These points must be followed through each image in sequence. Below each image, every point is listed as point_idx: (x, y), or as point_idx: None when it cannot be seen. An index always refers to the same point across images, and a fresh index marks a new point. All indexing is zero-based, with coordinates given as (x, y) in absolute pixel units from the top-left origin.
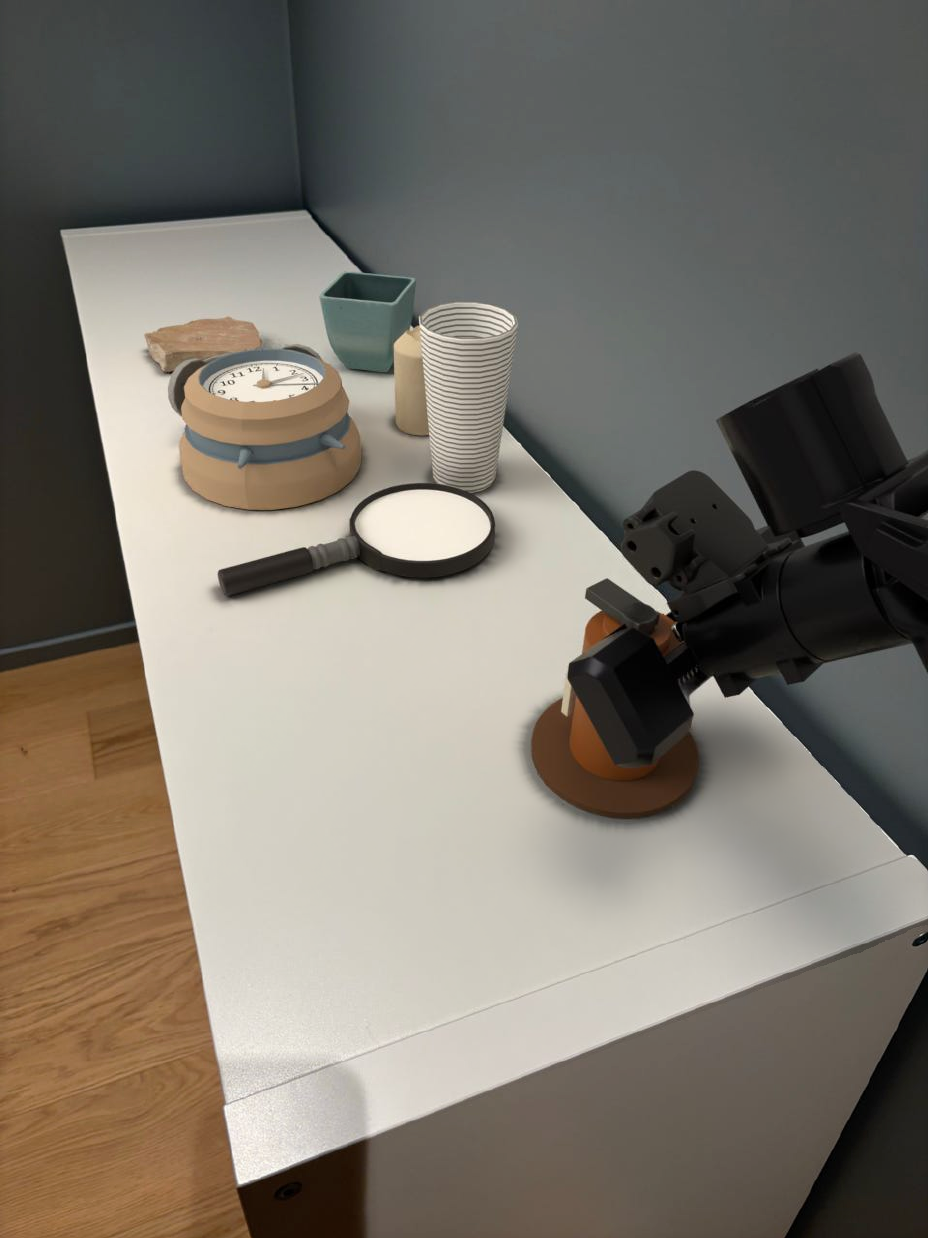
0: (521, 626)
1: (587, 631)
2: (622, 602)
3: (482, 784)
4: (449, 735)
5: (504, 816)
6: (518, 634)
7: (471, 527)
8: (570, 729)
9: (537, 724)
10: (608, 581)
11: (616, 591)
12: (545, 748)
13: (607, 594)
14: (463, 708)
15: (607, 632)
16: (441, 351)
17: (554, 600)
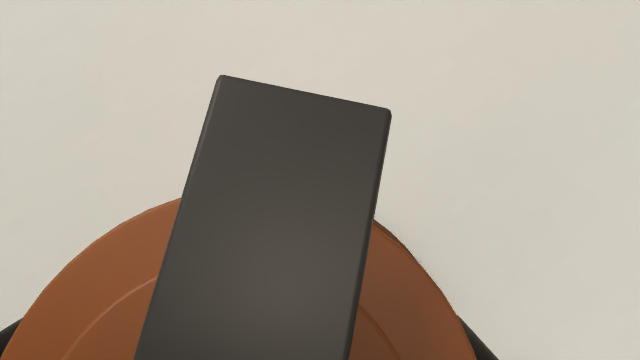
0: (445, 25)
1: (123, 232)
2: (238, 322)
3: (55, 211)
4: (123, 96)
5: (10, 289)
6: (423, 33)
7: None
8: None
9: None
10: (364, 134)
11: (314, 225)
12: None
13: (244, 200)
14: (195, 75)
15: (73, 350)
16: None
17: (551, 27)
